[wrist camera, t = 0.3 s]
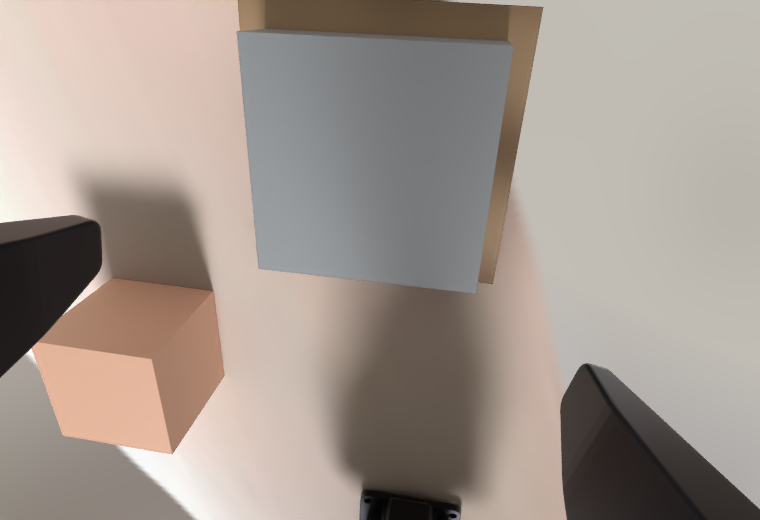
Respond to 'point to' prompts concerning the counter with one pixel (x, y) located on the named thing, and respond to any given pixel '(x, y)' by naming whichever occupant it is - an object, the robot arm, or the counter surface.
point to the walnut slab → (430, 19)
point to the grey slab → (372, 152)
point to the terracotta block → (133, 364)
